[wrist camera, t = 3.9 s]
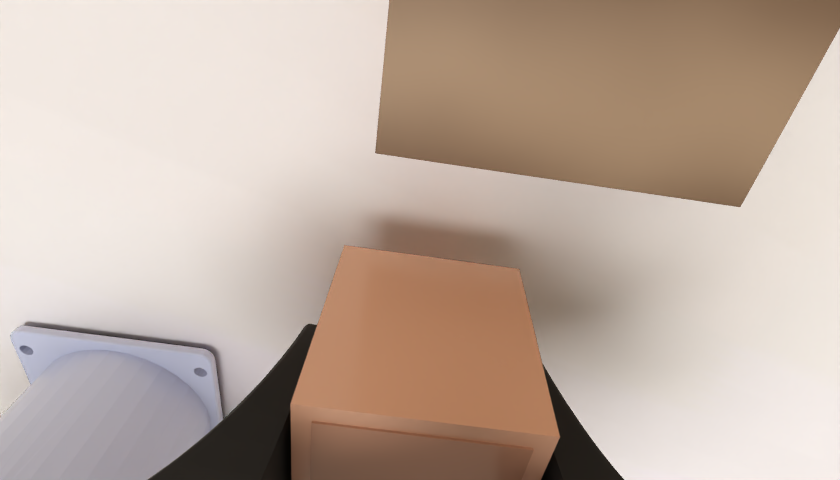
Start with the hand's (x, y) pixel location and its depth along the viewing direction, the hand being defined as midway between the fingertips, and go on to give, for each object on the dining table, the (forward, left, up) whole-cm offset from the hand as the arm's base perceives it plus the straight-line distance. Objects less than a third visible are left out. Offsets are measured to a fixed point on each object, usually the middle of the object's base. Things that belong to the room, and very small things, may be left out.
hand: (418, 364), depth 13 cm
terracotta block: (0, 0, -2) cm, 2 cm away
